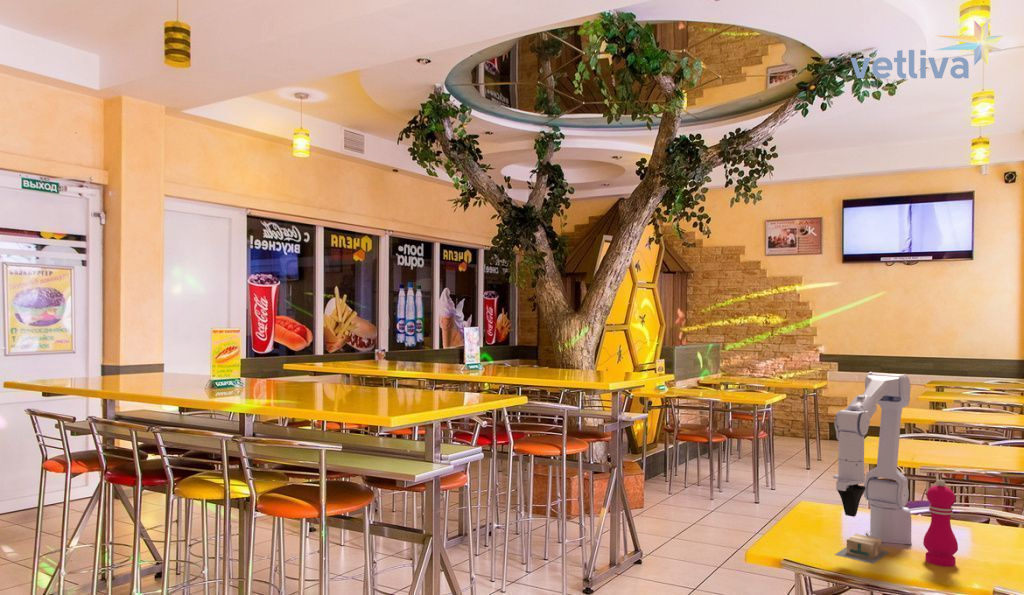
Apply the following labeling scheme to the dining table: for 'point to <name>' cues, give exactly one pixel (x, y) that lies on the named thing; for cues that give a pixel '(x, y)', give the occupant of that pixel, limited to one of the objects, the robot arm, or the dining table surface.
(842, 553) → the grey panel
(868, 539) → the birch block
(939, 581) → the dining table surface
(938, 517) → the pepper mill
